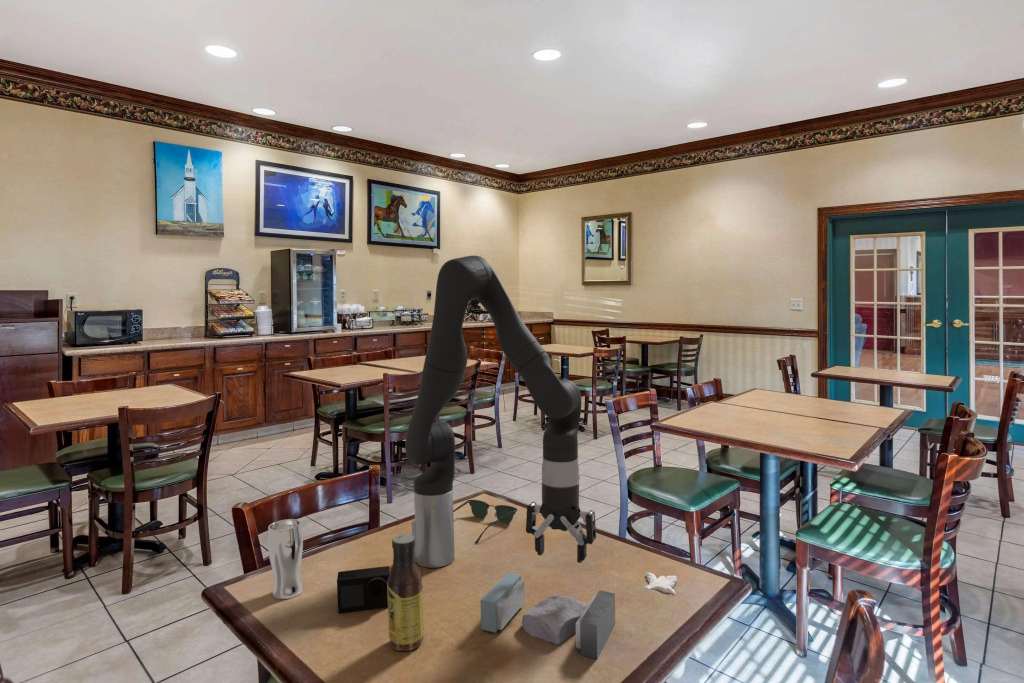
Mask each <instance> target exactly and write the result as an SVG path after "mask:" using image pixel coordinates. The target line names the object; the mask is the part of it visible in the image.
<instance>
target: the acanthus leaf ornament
mask: <svg viewBox="0 0 1024 683" xmlns="http://www.w3.org/2000/svg"><path fill="white" fill-rule="evenodd" d="M644 576H645V577H646V580H647V581H648V583H649V584H648V585H645V586H643V590H644V591H650V590H658V591H660V592H662V593H664V594H665V593H666V594H671V595H672V596H676V591H675V590H674V588H675V586H676V583H677V581H678V576H676V575H667V576H665V575H660V576H659V577H656V575H655V574H653V573H651V572H645V575H644Z"/></svg>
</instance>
